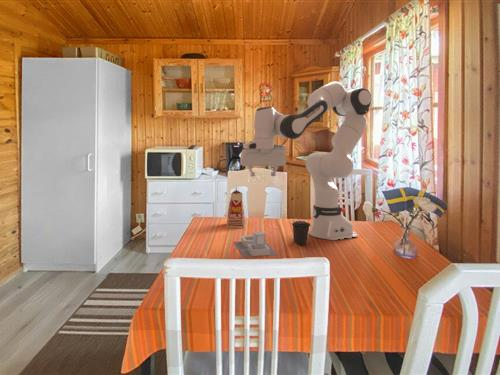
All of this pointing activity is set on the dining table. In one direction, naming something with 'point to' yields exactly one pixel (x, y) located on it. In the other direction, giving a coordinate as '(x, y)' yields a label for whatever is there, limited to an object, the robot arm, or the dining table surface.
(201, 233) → the dining table surface
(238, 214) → the milk carton
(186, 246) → the dining table surface
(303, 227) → the coffee cup
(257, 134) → the robot arm
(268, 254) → the panel
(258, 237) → the plug
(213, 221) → the dining table surface
